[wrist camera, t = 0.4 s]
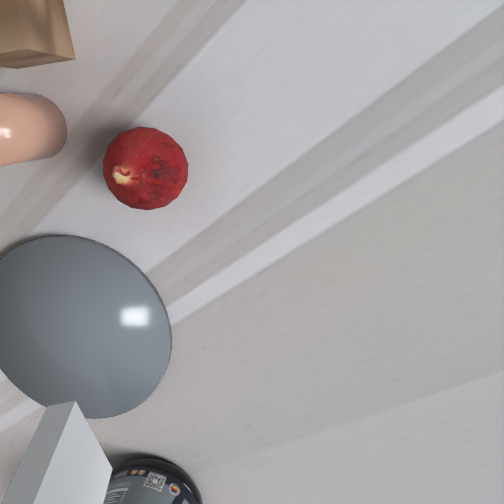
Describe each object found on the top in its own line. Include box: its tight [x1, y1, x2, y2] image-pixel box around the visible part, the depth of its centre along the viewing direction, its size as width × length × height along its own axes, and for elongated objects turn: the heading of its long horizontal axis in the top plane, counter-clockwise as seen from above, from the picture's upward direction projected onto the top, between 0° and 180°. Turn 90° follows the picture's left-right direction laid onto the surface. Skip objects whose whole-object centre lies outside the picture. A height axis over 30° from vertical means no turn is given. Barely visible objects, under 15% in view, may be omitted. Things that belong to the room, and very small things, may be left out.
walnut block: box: [0, 0, 75, 69], centre depth 31 cm, size 5×5×6 cm
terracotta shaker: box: [0, 93, 67, 166], centre depth 33 cm, size 5×5×7 cm
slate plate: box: [0, 235, 172, 419], centre depth 41 cm, size 18×18×1 cm
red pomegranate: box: [103, 127, 188, 210], centre depth 32 cm, size 6×6×8 cm
